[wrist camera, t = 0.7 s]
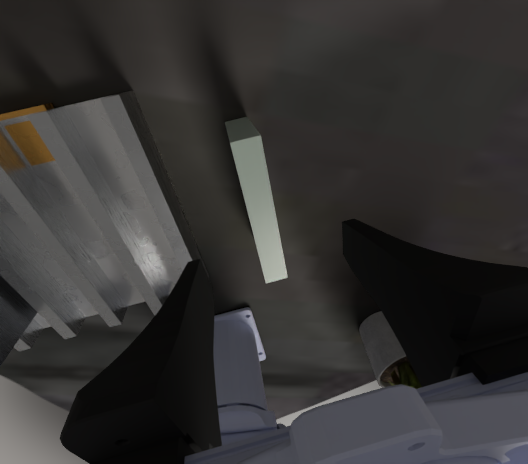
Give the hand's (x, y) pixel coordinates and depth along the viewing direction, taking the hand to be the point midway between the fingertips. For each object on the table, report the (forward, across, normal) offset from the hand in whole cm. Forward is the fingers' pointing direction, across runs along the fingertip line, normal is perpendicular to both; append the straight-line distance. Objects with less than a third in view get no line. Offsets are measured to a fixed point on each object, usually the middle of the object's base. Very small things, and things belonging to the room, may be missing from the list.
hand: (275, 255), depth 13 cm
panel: (+10, 0, 0) cm, 10 cm away
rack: (+9, +14, 0) cm, 17 cm away
